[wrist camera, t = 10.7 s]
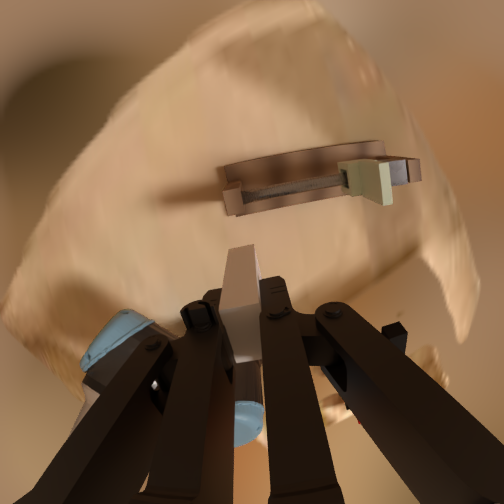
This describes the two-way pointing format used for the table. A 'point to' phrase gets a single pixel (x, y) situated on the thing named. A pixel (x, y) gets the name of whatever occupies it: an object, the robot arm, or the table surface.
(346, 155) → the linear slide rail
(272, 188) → the rod
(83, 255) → the table surface
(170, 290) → the table surface
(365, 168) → the cream t-shaped block
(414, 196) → the table surface
